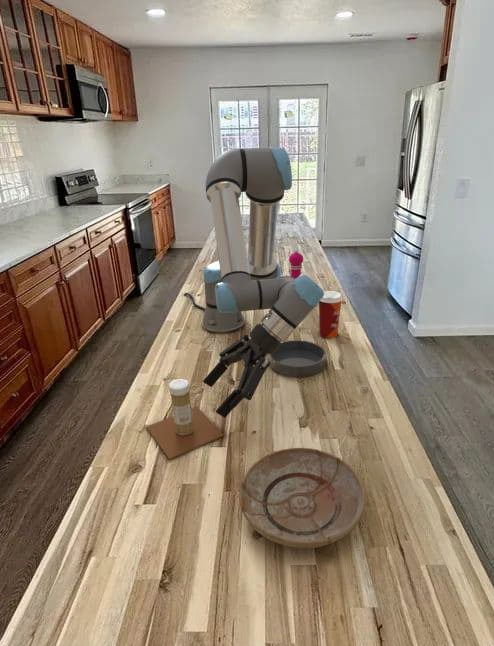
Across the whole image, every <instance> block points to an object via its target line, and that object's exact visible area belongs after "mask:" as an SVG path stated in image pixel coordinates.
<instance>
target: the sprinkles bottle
mask: <svg viewBox="0 0 494 646" xmlns="http://www.w3.org/2000/svg"><path fill="white" fill-rule="evenodd" d="M168 389H169V394H170V399H171V407H172V414H173V416H174V422H175V428H176V429H175V431H176V433H177V434H178V435H181V436H185V435H189V434H191V433H192V432H193V431H194V426H193V420H192V418H193V417H192V409H193V408H192V403H191V395H190V389H191V387H190V383H189V381H188V380H187V379H184V378H177V379H174V380H172V381H171V382H169V384H168Z"/></svg>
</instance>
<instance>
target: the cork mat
mask: <svg viewBox="0 0 494 646" xmlns="http://www.w3.org/2000/svg"><path fill="white" fill-rule="evenodd" d="M192 417H193V418H192V420H193V426H194V431H193V432H192V433H191V434H189V435H185V436H181V435H178V434H177V433H176V431H175V429H176V428H175V422H174V415H173V416H170V417H168V418H165V419H162V420H160V421H158V422H155V423H152V424H150V425H147V426H146V429H147V431H148V432H149V434H150V435H151V437H152V438H153V439H154V441H155V442H156V444H157V445H158V447H160V449H161V451H162V452H163V453H164V454H165V456H166V457H167V459H168V460H169V461H171V460H173V459H175V458H178V457H179V456H182V455H185V454H187V453H189V452H191V451H194V450H196V449H198V448H200V447H202V446H205V445H207V444H209V443H212V442H214V441H216V440H218V439H221V438H223V437H225V434H224V433H223V432H222V431H221V430H220V429H219V428H218V427H217V426H216V425H215V424H214V423H213V422H212V421H211V420H210V419H209V418H208V417H207V416H206V414H205V413H204V412H203V411H201V409H200V408H199V407H198V406H196V407H194V408H192Z"/></svg>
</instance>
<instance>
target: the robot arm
mask: <svg viewBox="0 0 494 646" xmlns="http://www.w3.org/2000/svg"><path fill="white" fill-rule="evenodd" d="M288 153H289V152H288V151H287V149H285V148H284V147H276V146H275V147H273V146H269V147H244V148H239V147H238V148H235V147H234V148H230V149H227V150H225V151H224V152H222V153H221V154H220V155H218V156H217V158H216V159H214V161H213V162H212V164H211V166H210V167H209V169H208V172H207V175H206V179H205V196H206V199H207V200H208V202H209V203H210V204H211V211H212V212H211V213H212V219H213V227H214V235H215V243H216V249H217V250H216V251H217V256H218V261H214V262H212V263H210V264H208V265H206V267H204V269H203V283H204V296H205V307H204V306H201V305H199V304H197V303H196V302H195V297H194V296H193V295H192V294H191V293H189V292H184V294H183V296H188V297H190V298H191V301H192V304H193V306H195V307H196V308H198V309H199V310H200V309H201V310H202V311H204V313H203V317H202V327H203V329H204V330H205V331H206V332H210V333H214V334H227V333H228V334H229V333H234V332H237V331H239V330H241V329H242V328H243V327H244V326H245V318H244V316H243V313H242V312H249V311H261V310H268V311H267V312H265V315H264V316H263V317H262V318H261V319H260V323H256V324H255V325H254V327H253V328H252V330H250V332H249V333H248V334H247V333H244V334H243V335H242V336H241V338H239V339H238V340H237V341H235V342H234V343H232V344H231V345H229V346H228V347H226V348H225V349H223V350H222V351H221V352H220V353H219V354H218V356H219V357H220V358H219V360H218V362H217V364H216V365H215V366H214V367H213V368H212V370H211V371H209V373H208V375H207V376H205V378H204V379H202V383H203V384H205V385H207V386H209V387H210V388H212V387H213V386H214V385H215V384H216V383H217V382H218V380H219V379H221V377H222V376H223V375H224V373H226V371H227V370H228V369H229V368H230V366H231V365H233V364H235V363H237V362H240V361H243V367H244V369H243V372H242V375H241V377H240V379H239V382H238V385H237V388H236V389H233V390H232V391H231V393H230V394H229V395H228V396H227V397H226V398H225V399H224V400H223V402H221V404H220V405H219V406H218V408H217V409H216V410H215V414H217V415H219V416H221V417H223V418H226V417H227V416H229V414H230V413H231V412H232V411H233V410H234V409H235V408H236V407H237V406H238V405H239V404H240V403H241V401H243V400H244V399H245V400H247V401H251V400H252V399H253V397H254V395H255V393H256V390H257V388H258V386H259V384H260V383H261V380H262V378H263V376H264V374H265V372H266V371H267V370H268V368H269V367H270V360H268V359H267V358H266V357H267V355H269V354H274V353H275V351H276V350H277V349H278V348H279V347H280V346H281V342H285V341H287V339H288V338H289V337H290V336H291V335H292V334H293V333H294V331H295V330H296V329H297V328H298V327H299V325H300V324H301V323H302V322H303V321H304V320H305V319H306V317H307V316H308V315H309V314H310V313H311V312H312V311H313V310H314V309H315V308H316V307H317V306H318V305H319V301H320V300H321V299H322V297H323V296H324V291H325V290H323V288H322V287H321V286H320V285H318V284H317V282H315V281H314V280H313V279H312V278H310V276H308V275H306V274H305V273H301V275H300V276H299V277H298V278H297V279H295V278H293V277H290V276H291V275H286V274H283V275H282V272H281V267H280V264H279V263H278V262H277V261H276V258H274V252H275V250H274V248H275V240H276V229H277V218H278V211H279V209H278V208H279V202H281V201H282V200H283V199H284V196H285V191H290V190H291V189H292V187H293V171H292V163H291V160H290V156H289V154H288ZM242 193H245V195H246V196H245V197H246V199H248V200H249V219H248V220H249V221H248V244H247V243H246V238H245V237H246V236H245V232H244V230H245V229H244V224H243V218H242V212H241V206H240V200H239V199H240V198H241V196H242ZM247 247H248V248H247Z"/></svg>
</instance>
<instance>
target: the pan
mask: <svg viewBox="0 0 494 646" xmlns="http://www.w3.org/2000/svg"><path fill="white" fill-rule="evenodd" d="M268 355H269V358H268V359H269V362H270V365H269V367H270V368H271V369H272V370H273V371H274V372H276V373H278V374H280V375H282V376H286V377H291V378H304V377H310V376H313V375H316V374H318V373H320V372H321V371H323V370H324V368H325V366H326V351H325V350H324V348H323V347H322V346H321V345H319V344H317V343H315V342H312V341H309V340H300V339H293V340H291V339H290V340H285V341H281V346H280V347H279V348H278V349H277V350H276V351H275V353H274V354H268Z"/></svg>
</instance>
